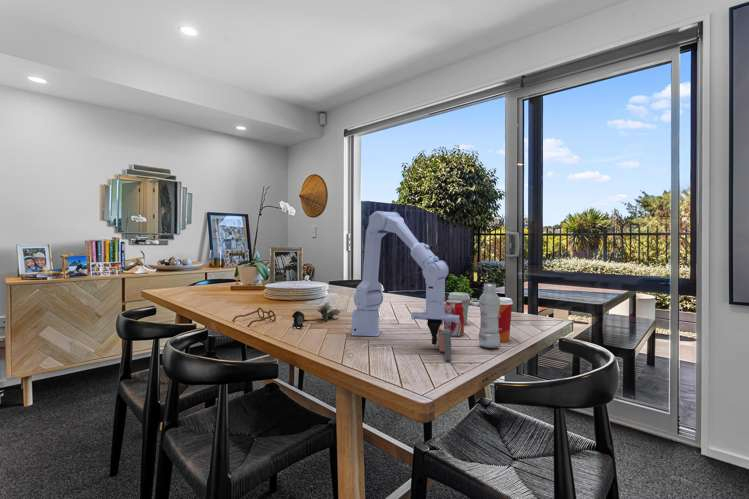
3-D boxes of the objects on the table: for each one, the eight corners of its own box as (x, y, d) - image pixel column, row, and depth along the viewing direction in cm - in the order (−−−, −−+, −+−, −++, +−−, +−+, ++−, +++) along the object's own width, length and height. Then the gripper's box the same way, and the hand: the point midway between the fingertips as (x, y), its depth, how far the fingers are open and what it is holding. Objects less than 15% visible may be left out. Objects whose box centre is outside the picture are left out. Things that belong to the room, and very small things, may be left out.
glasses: (276, 323, 157) (276, 310, 156) (246, 329, 147) (246, 315, 147) (259, 318, 166) (259, 306, 165) (229, 323, 156) (229, 311, 156)
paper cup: (484, 337, 135) (485, 296, 134) (506, 336, 136) (507, 296, 135) (493, 343, 127) (494, 300, 126) (516, 343, 128) (517, 300, 127)
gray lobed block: (437, 340, 130) (437, 319, 130) (437, 335, 137) (437, 315, 136) (442, 341, 130) (443, 320, 130) (442, 336, 136) (442, 316, 136)
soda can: (464, 337, 134) (464, 303, 134) (443, 336, 136) (443, 302, 135) (463, 332, 141) (464, 299, 141) (443, 331, 142) (444, 298, 142)
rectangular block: (437, 340, 130) (437, 324, 130) (443, 340, 130) (443, 324, 129) (438, 352, 117) (439, 334, 117) (445, 352, 117) (445, 334, 117)
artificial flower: (287, 330, 149) (285, 304, 151) (331, 326, 166) (328, 303, 168) (302, 327, 144) (300, 300, 146) (345, 324, 161) (343, 299, 163)
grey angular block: (440, 361, 110) (440, 336, 109) (439, 351, 118) (439, 328, 118) (450, 361, 109) (451, 336, 109) (449, 352, 118) (449, 329, 117)
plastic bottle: (489, 351, 119) (490, 285, 118) (473, 345, 125) (474, 283, 124) (504, 348, 122) (505, 284, 121) (489, 343, 128) (489, 282, 127)
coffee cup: (472, 326, 150) (472, 295, 150) (449, 326, 151) (450, 295, 150) (467, 321, 159) (467, 291, 158) (446, 321, 159) (446, 291, 159)
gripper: (460, 299, 122) (459, 342, 123) (414, 296, 127) (414, 338, 128) (458, 303, 116) (457, 348, 116) (410, 300, 120) (409, 344, 121)
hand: (434, 343), depth 122 cm, fingers closed
